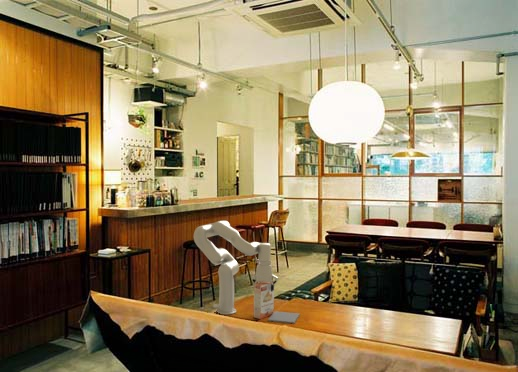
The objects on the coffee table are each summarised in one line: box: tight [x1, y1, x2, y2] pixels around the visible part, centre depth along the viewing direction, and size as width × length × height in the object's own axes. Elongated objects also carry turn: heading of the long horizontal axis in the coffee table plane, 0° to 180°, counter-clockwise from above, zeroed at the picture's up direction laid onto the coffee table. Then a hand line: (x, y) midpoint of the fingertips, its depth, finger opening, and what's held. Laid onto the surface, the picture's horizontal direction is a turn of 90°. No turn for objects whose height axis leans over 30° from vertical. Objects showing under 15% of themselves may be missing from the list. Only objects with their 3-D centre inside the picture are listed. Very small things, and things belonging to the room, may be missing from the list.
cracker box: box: [253, 282, 275, 320], centre depth 272 cm, size 14×6×21 cm, turn 143°
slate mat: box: [267, 311, 301, 325], centre depth 268 cm, size 16×18×1 cm
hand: (264, 290), depth 272 cm, fingers open, 9 cm apart
